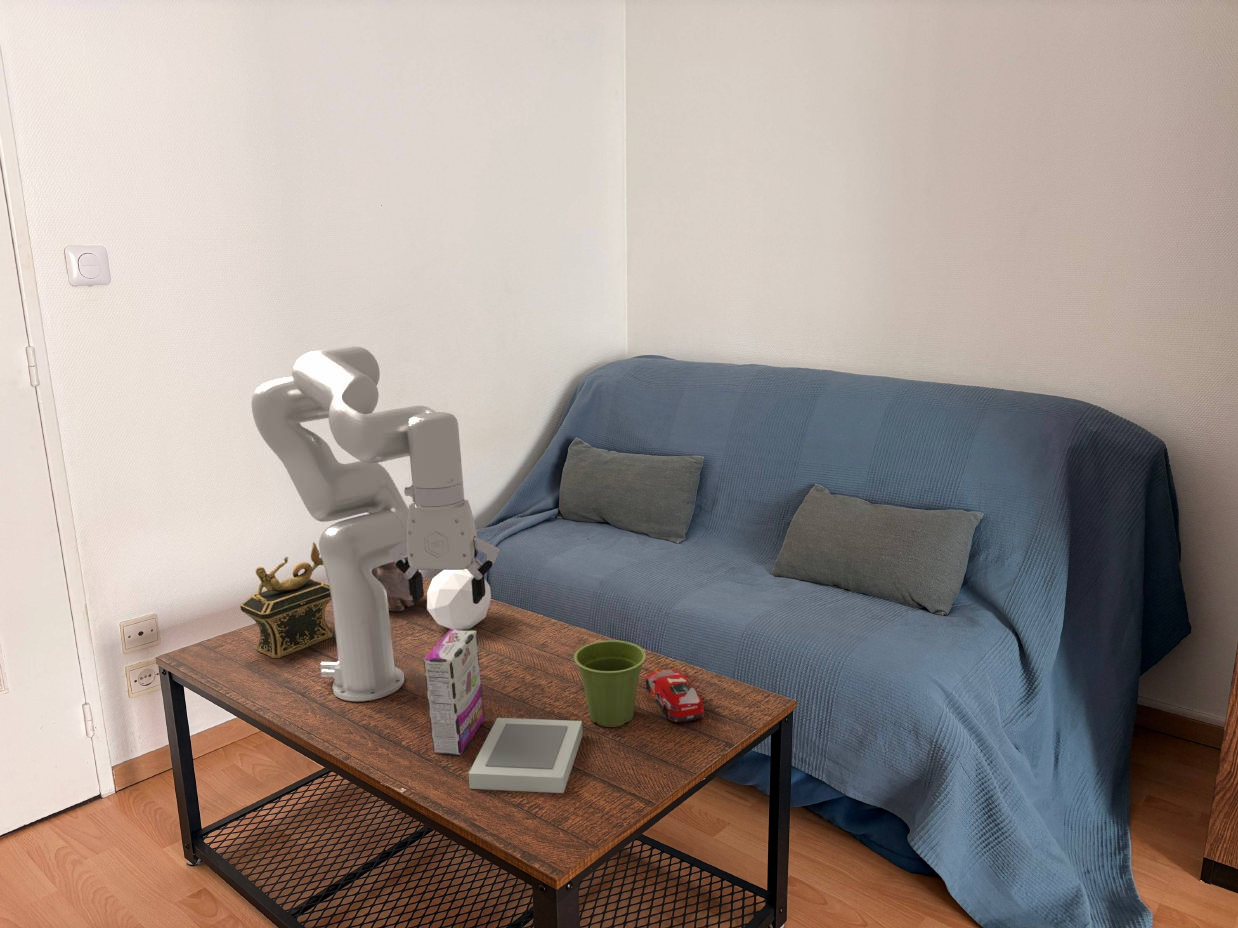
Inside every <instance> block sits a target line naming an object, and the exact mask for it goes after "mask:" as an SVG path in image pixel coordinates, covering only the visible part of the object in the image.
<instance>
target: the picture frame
mask: <svg viewBox="0 0 1238 928" xmlns="http://www.w3.org/2000/svg"><path fill="white" fill-rule="evenodd" d="M583 736H584V735H583V721H582V720H565V719H563V720H561V719H560V720H559V719H537V718H536V719H534V718H514V717H512V718H511V717H509V718H508V717H506V718H505V717H496V720H495V721H494V724H493V725H492V728H491V729H490V730H489V733H488V735H487V737H486V739H485V741H484V743H483V744H482V747H481V748H480V751H479V752H478V754H477V756H476V758H475V760H474V762H473V764H472V766H471V767H470V769H469V771H468V782H469V789H471V790H487V791H488V790H491V791H492V790H493V791H508V792H509V791H510V792H511V791H512V792H513V791H514V792H533V793H534V792H535V793H554V794H564V793H565V790H566V788H567V783H568V781H569V778H570V775H571V773H572V769H573V767H574V766H573V765H574V763H575V760H576V756H577V753H578V750H579V747H580V744H581V741H582V738H583Z"/></svg>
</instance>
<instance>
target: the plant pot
mask: <svg viewBox="0 0 1238 928" xmlns="http://www.w3.org/2000/svg"><path fill="white" fill-rule="evenodd" d="M573 659H574V660H573V661H574V662H575V664H576V665H577V667H578V671H579V674H580V676H581V679H582V684H583V688H584V694H585V699H586V704H587V708H588V714H589V718H590V721H591V722H592V723H596V724H598V725H599V726H600V727H607V728H617V727H621V726H624V724H625V723H628V722H631V721H632V719H633V717H634V711H635V706H636V705H635V704H636V701H637V700H636V698H637V693H638V692H637V691H638V686H639V680H640V675H641V672H642V667H643V664H644V663H645V662H646V659H647V653H646V651H645V650H644V649H643V648H642V647H641V646H639V645H638V644H636V643H632V642H629V641H624V640H618V639H617V640H598V641H594V642H591V643H587V644H585V645H582V646H581V647H579V648H578V649H577V650H576V651H575V653H574V655H573Z"/></svg>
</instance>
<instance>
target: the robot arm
mask: <svg viewBox="0 0 1238 928" xmlns="http://www.w3.org/2000/svg"><path fill="white" fill-rule="evenodd" d="M380 371H381V370H380V365H379V363H378V361H377V359H376V357H375V355H373V354H372V353H371V351H369V350H368V349H367V348H364V347H361V346H354V345H353V346H345V347H344V346H343V347H335V348H328V349H327V348H325V349H319V350H313V351H309V352H307V353H305V354H302V355H301V356H299V358H298V359H297V360H296V361H295V363H294V365H292V370H291V376H287V377H286V376H285V377H280V378H276V379H275V378H274V379H273V380H268V381H266V382H264V383H262V384H261V385H259V386H258V387H257V388H256V389H255V390H254V392H253V393H252V397H251V403H250V404H251V410H252V411H251V413H252V417H253V421H254V423H255V426H256V428H257V430H258V433H259V434H260V436H261V437H262V440H263V441H264V442H265V443H266V445H267V446H268V447H269V448H270V450H271V451H273V453H274V454H275V455H276V456H277V457H278V459H279V460H280V461H281V463H282V464H283V466H284V468H285V469H286V471H287V474H288V475H289V477H290V479H291V481H292V483H293V485H294V487H295V489H296V491H297V493H298V495H299V497H300V499H301V500H302V503H303V505H304V506H305V508H306V510H307V511H308V514H310V516H311V517H312V518H313V519H314V520H315V521H318V522H322V523H325V522H332V521H338V520H339V521H338V522H335V523H332V524H331V525H330V526H328V527H326V528H325V529H324V531H323V532H322V533H321V535H320V537H319V540H318V548H319V549H318V550H319V553H320V558H322V561H323V564H324V565H323V567H324V570H325V573H326V577H327V581H328V585H329V587H330V594H331V601H330V602H331V607H332V617H333V623H334V632H335V642H336V650H337V658H338V661H327V660H324V661H321V663H320V666H319V670H320V677H322V678H333V679H334V680H333V683H332V692H333V694H334V695H335V697H337V698H339V699H340V700H343V701H346V702H347V701H348V702H367V701H368V702H369V701H374V700H378V699H382V698H385V697H387V696H390V695H392V694H393V693H395V692H397V691H398V690H399V689H400V688H401V687H402V686H403V685H404V683H405V674H404V672H403V670H402V669H400V668H398V667H396V666H395V662H394V661H395V660H394V651H393V642H392V640H393V639H392V632H391V631H392V630H391V623H390V622H391V620H390V613H389V612H390V611H389V610H388V601H387V593H386V590H385V588H384V586H383V584H382V583H381V582H380V581H379V580H378V579H377V578H375V577H374V576H373V574H372V570H373V569H374V568H376V567H379V566H381V565H384V564H388V563H391V562H395V563H396V567H397V568H398V569H400V570H401V571H402V572H403V573H404V574H405V577H406V578H407V579H408V581H409V591H410V596H412V598H413V599H412V602H413V603H414V604H418V603H419V602H420V601H421V600H422V599H423V598H424V596H425V590H424V582H423V581H424V579H422V578H423V574H422V572H420V570H421V571H423V570H424V571H425V570H426V571H430V570H431V571H443V570H464V569H467V570H468V571H469V572H470V573H471V574H472V575H473V576H474V578H473V579H472V581H471V584H472V596H473V603H474V604H478V603H479V602H480V600H481V599H482V598H483V597H484V596H485V580H486V579H485V574H486V573H488V572H489V570H491V568H493V566H494V565H495V562H496V560H497V558H498V556H499V554H500V551H501V550H500V549H499V548H498V547H497V546H495V545H493V544H491V543H489V542H487V541H485V540H483V539H481V538H479V537H478V535H477V529H476V524H475V520H474V515H473V511H472V508H471V504H470V502H469V500H468V499H465V493H464V492H465V491H464V481H463V480H464V479H463V478H464V477H463V465H462V453H461V444H460V443H461V441H460V431H459V422H458V419H457V417H456V416H455V415H454V414H452V413H450V412H445V411H436V410H434V409H432V408H430V407H427V406H424V405H414V406H406V407H402V408H401V407H400V408H393V409H388V410H383V411H381V410H380V411H376V412H374V411H375V409H376V407H377V406H378V402H379V397H380V395H379V390H378V389H379V388H378V387H377V386H378V384H379V381H380V375H381V374H380ZM326 419H328V424H329V429H330V432H331V434H332V436H333V439H334V441H335V442H336V444H337V445H338V446H339V447H340V448H341V449H342V450H344V451H345V452H346V453H348V454H349V455H350V456H352V457H353V458H355V459H357V460H358V461H355V462H354V461H353V462H350V463H349V462H348V463H341V462H339V461H338V460H337V457H335V455H334V452H333V451H332V449H331V447H330V446H329V444H328V443H327V441H325V440H324V439H323V438H322V437H321V436H320V435H318V434H317V433H316V432H314V431H312V430H310V429H308V428H306V427H304V426H303V425H302V424H301V423H306V422H307V423H308V422H314V421H318V420H326ZM405 457H406V458H407V457H409V463H410V474H411V485H410V486H405V487H404V492H403V493H404V496H405V497H408V496H409V497H411V498H412V503H410V504H409V505H407V504H406V502H405V500H404V497H403V496H402V494H401V492H400V491H399V489H398V487H397V485H396V483H395V482H394V480H393V478H392V476H391V475H390V473H389V472H388V470H387V469H386V468H385V467H384V466H383V465H382V464H380V463H383V462H387V461H392V460H396V459H400V458H401V459H402V458H405ZM361 514H362V515H361ZM357 515H358V516H357ZM350 517H351V518H350ZM342 519H343V520H342ZM479 551H480V552H482V553H484V554H486V556H487V558H486V559H485V561H484V562H483V563H482V562H481V561H480V560H479V558H478V557H479ZM406 557H408V560H406V559H405V558H406Z"/></svg>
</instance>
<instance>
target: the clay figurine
mask: <svg viewBox="0 0 1238 928" xmlns="http://www.w3.org/2000/svg"><path fill="white" fill-rule="evenodd" d="M405 559H406V560H408V557H406V558H405ZM372 574H373V576H374V577H375V578H377V579H378V580H379V581H380V582H381V583H382V584H383V586H384V588H385V590H386V593H387V601H388V610H389V612H403V611H404V610H405V607H408V608H409V607H412V606H414V605H415V603H413V598H412V596H410V591H409V581H408V579H407V578H406V577H405V574H404V573H403V572H402V571H401V570H400V569H398V568H397V567H396V563H395V562H391V563H388V564H384V565H381V566H379V567H376V568H374V569H373V570H372ZM422 579H423V577H422ZM423 580H424V579H423Z"/></svg>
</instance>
